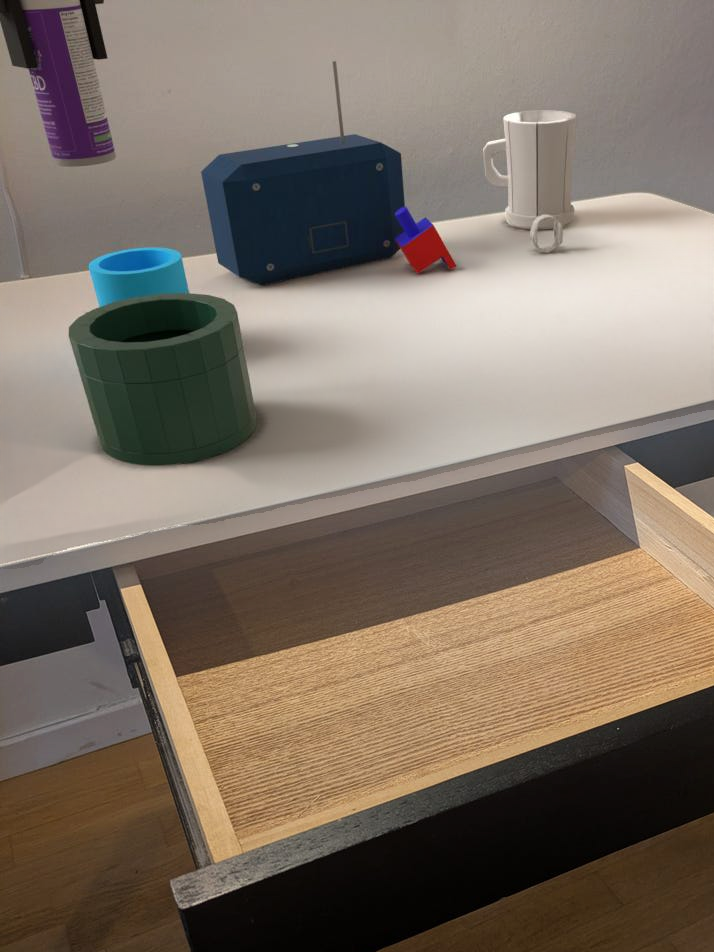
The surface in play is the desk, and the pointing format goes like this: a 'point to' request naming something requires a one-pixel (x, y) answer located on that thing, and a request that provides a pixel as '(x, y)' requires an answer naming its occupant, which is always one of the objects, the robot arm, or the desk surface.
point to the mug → (137, 274)
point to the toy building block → (421, 242)
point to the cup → (535, 166)
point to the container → (67, 84)
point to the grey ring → (557, 233)
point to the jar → (165, 377)
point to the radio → (305, 206)
